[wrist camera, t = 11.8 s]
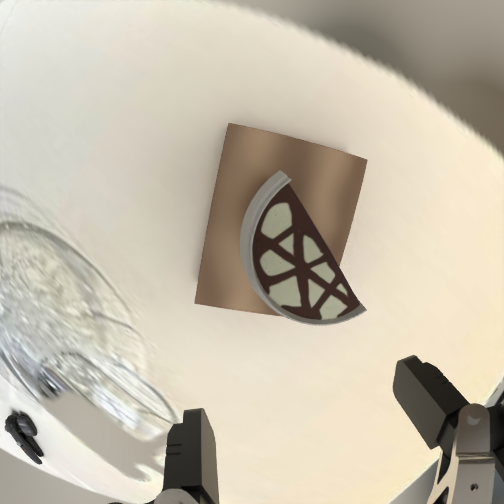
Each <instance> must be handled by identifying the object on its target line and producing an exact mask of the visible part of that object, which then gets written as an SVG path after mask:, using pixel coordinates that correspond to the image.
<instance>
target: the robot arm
mask: <svg viewBox="0 0 504 504" xmlns="http://www.w3.org/2000/svg"><path fill="white" fill-rule="evenodd" d="M393 392H394V395H395V398H396V399H397V401H398V402H399V404H400V405H401V407H402V408H403V410H404V411H405V412H406V414H407V415H408V417H409V418H410V420H411V421H412V423H413V424H414V426H415V427H416V429H417V430H418V432H419V433H420V435H421V436H422V438H423V439H424V441H425V442H426V444H427V445H428V447H429V448H430V450H431V449H433V448H435V447H437V446H440V447H441V449H442V450H441V452H440V457H439V463H438V468H437V474H436V478H435V483H434V487H433V490H432V493H431V495H430V497H429V499H428V502H427V504H491V501H492V493H493V484H494V472H495V468H496V470H497V472H498V473H499V475H500V476H501V478H502V480H503V481H504V401H503V403H502V404H499V405H495V406H492V407H488V408H485V407H484V406H483V405H480V404H476V403H473V404H470V403H469V402H468V401H467V400H466V399H465V398H464V397H463V396H462V394H461V393H460V392H459V391H458V390H457V389H456V388H455V387H454V386H453V384H452V383H451V382H449V380H448V379H447V378H446V377H445V376H443V373H442V372H441V371H440V370H439V369H438V368H437V367H435V366H434V365H432V364H430V363H428V362H425V363H422V362H421V361H420V360H419V359H418V357H417V356H415V355H412V356H409V357H407V358H404V359H402V360H399V361H398V362H397V364H396V371H395V377H394V382H393ZM109 504H122V503H116V502H115V503H109ZM145 504H219V492H218V477H217V460H216V443H215V437H214V433H213V430H212V427H211V425H210V423H209V420H208V418H207V415H206V413H205V410H204V409H203V408H199V409H191V410H184V414H183V423H179V424H173V426H172V428H171V429H170V431H169V433H168V436H167V447H166V457H165V469H164V482H163V489H162V491H161V493H160V494H159V495H158V496H157V497H156V499H154V500H153V501H151V502H149V503H145Z"/></svg>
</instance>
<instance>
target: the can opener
mask: <svg viewBox="0 0 504 504" xmlns="http://www.w3.org/2000/svg"><path fill="white" fill-rule="evenodd" d="M5 423H6V425H5V430H6V431H7V432H9V433H10V434H11V435H12V436H13V438H14V439H15V441H16V442H17V445H19V446H20V447H21V448H22V450H23V451H24V452H25V453H26V454H27V455H28V456H29V457H30V458H31V459H32V460H33V461H34V462H35V463H37V464H42V461H41V460H40V459H39V458H38V456H39V457H42V456H43V453H42V451H41V449H40V448H39V447H38V445H37V444H36V443H35V442H34V441H33V440H32V438H31V437H30V436H36V435H37V431H36V428H35V426H34V424H33V423H32V421H31V420H30V419H29V418H27V417H25V416H22V415H19V414H18V415H10V416H8V418H7V419H6V422H5ZM34 452H35V453H34ZM37 455H38V456H37Z"/></svg>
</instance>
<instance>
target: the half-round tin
mask: <svg viewBox="0 0 504 504" xmlns="http://www.w3.org/2000/svg"><path fill="white" fill-rule="evenodd" d="M290 181H291V179H290V178H288V176H287V175H286V174H285V173H283V172H282V171H280V170H279V171H278V172H277V173H276V174H274V175H273V176H272V177H271V178H269V179H268V180H267V181H266V183H265V184H264V185H263V186H262V187H261V188H260V189H259V190H258V192H257V193H256V195H255V196H254V198H253V199H252V201H251V202H250V205H249V207H248V209H247V211H246V213H245V216H244V220H243V223H242V227H241V233H240V242H239V243H240V257H241V262H242V266H243V270H244V272H245V275H246V277H247V279H248V281H249V283H250V284H251V286H252V288H253V289H254V291H255V292H256V293H257V294H258V295H259V296H260V297H261V299H262V300H263V301H264V302H265V303H266V304H267V305H268V306H269V307H271V308H272V309H273V310H274V311H276V312H277V313H279V314H281V315H282V316H284V317H286V318H288V319H291V320H294V321H297V322H300V323H303V324H309V325H332V324H337V323H341V322H344V321H348V320H350V319H352V318H355V317H357V316H359V315H360V314H362V313H364V312H365V311H367V310H366V309H365V307H364V306H363V305H362V304H361V303H360V301H359V300H358V299H357V297H356V296H355V295H354V293H353V291H352V289H351V287H350V286H349V284H348V282H347V280H346V278H345V276H344V275H343V273H342V271H341V269H340V267H339V266H338V264H337V262H336V260H335V258H334V256H333V255H332V253H331V251H330V249H329V248H328V246H327V244H326V243H325V241H324V239H323V238H322V236H321V235H320V233H319V231H318V230H317V228H316V226H315V225H314V223H313V221H312V220H311V218H310V216H309V215H308V213H307V211H306V210H305V208H304V206H303V205H302V203H301V202H300V200H299V198H298V197H297V195H296V194H295V192H294V191H293V189H292V188H291V186H290V185H289V182H290Z"/></svg>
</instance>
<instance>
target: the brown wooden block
mask: <svg viewBox="0 0 504 504" xmlns="http://www.w3.org/2000/svg"><path fill="white" fill-rule="evenodd" d="M366 164H367V159H364V158H361V157H358V156H355V155H351V154H348V153H345V152H342V151H339V150H335V149H332V148H329V147H325V146H322V145H318V144H315V143H311V142H308V141H304V140H300V139H296V138H293V137H289V136H285V135H281V134H277V133H272V132H268V131H264V130H259V129H255V128H250V127H246V126H241V125H236V124H231V123H229V124H228V128H227V133H226V137H225V142H224V146H223V151H222V155H221V160H220V165H219V170H218V175H217V180H216V184H215V189H214V195H213V200H212V205H211V210H210V215H209V221H208V226H207V232H206V237H205V243H204V248H203V254H202V260H201V266H200V272H199V278H198V284H197V291H196V297H195V304H201V305H207V306H213V307H219V308H226V309H232V310H239V311H246V312H253V313H260V314H268V315H275V316H282V315H281V314H279V313H277V312H276V311H274V310H273V309H272V308H271V307H269V306H268V305H267V304H266V303H265V302H264V301H263V300H262V299H261V297H260V296H259V295H258V294H257V293H256V292H255V291H254V289H253V288H252V286H251V284H250V283H249V281H248V279H247V277H246V275H245V272H244V270H243V266H242V262H241V257H240V243H239V242H240V233H241V227H242V223H243V220H244V216H245V213H246V211H247V209H248V207H249V205H250V202H251V201H252V199H253V198H254V196H255V195H256V193H257V192H258V190H259V189H260V188H261V187H262V186H263V185H264V184H265V183H266V181H267V180H268V179H269V178H271V177H272V176H273V175H274V174H276V173H277V172H278V171H279V170H280V171H282V172H283V173H285V174H286V175H287V176H288V178H290V179H291V181H290V182H289V185H290V186H291V188H292V189H293V191H294V192H295V194H296V195H297V197H298V198H299V200H300V202H301V203H302V205H303V206H304V208H305V210H306V211H307V213H308V215H309V216H310V218H311V220H312V221H313V223H314V225H315V226H316V228H317V230H318V231H319V233H320V235H321V236H322V238H323V239H324V241H325V243H326V244H327V246H328V248H329V249H330V251H331V253H332V255H333V256H334V258H335V260H336V262H337V264H338V266H340V262H341V259H342V256H343V252H344V249H345V246H346V242H347V239H348V235H349V232H350V228H351V224H352V221H353V217H354V213H355V209H356V206H357V202H358V198H359V194H360V190H361V186H362V182H363V177H364V173H365V169H366ZM283 317H284V316H283Z"/></svg>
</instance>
